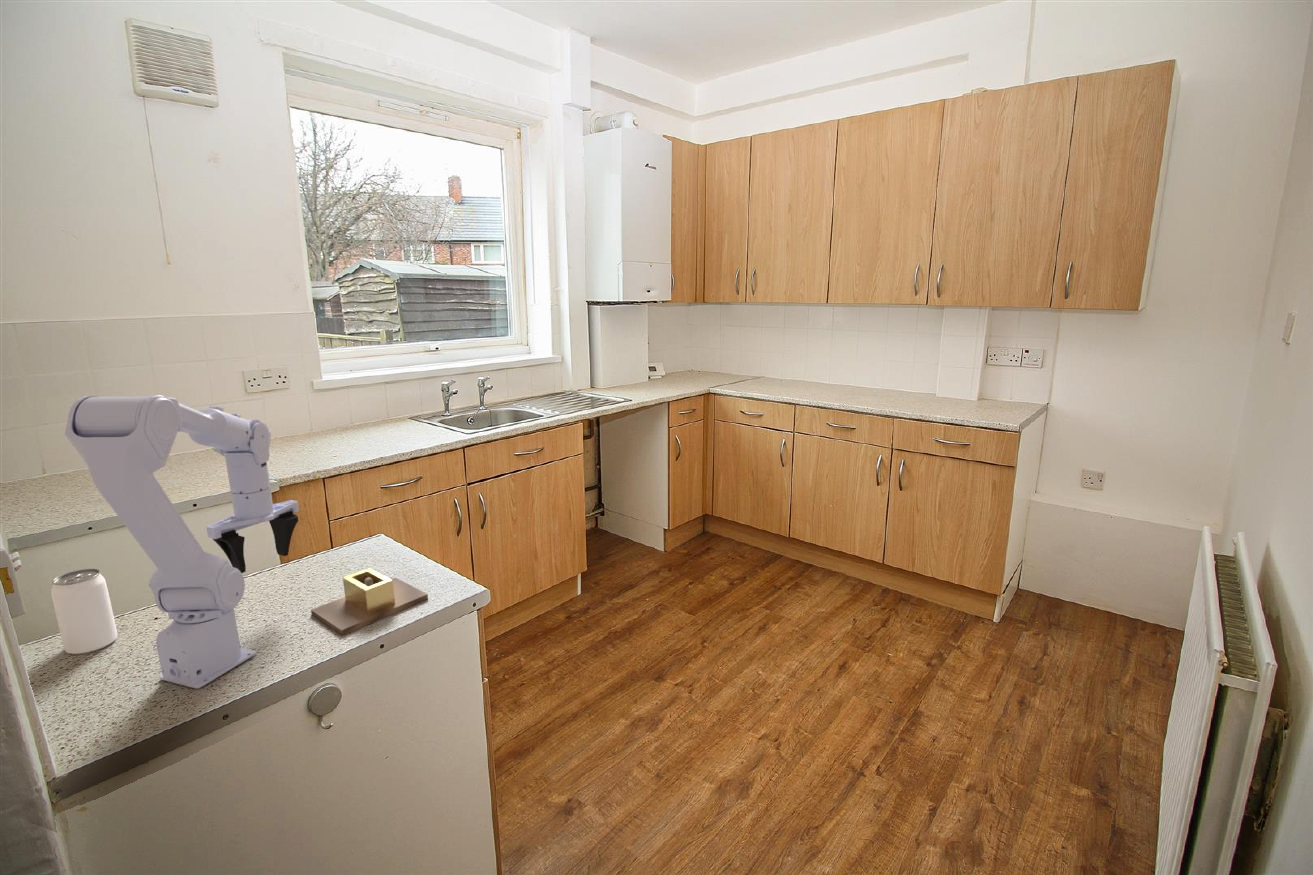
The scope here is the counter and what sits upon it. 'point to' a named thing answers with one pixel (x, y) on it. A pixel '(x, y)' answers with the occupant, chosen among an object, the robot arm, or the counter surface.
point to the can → (83, 611)
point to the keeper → (352, 618)
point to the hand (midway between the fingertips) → (262, 562)
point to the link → (369, 591)
